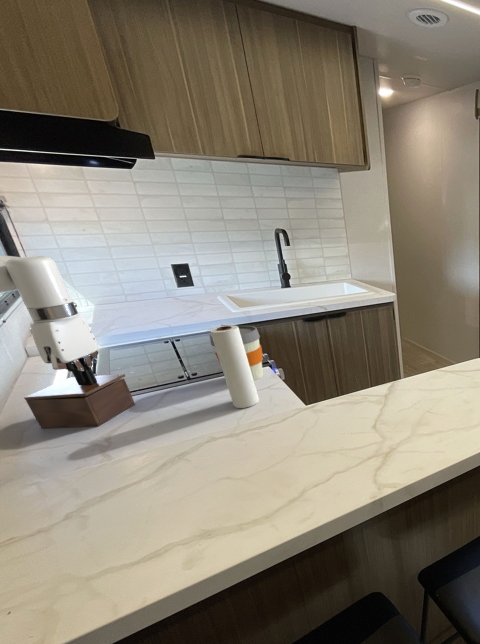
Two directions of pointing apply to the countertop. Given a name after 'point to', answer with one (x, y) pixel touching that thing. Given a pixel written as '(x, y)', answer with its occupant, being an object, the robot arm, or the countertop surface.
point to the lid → (73, 388)
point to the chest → (83, 407)
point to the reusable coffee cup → (250, 349)
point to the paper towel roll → (235, 365)
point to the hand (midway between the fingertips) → (88, 383)
